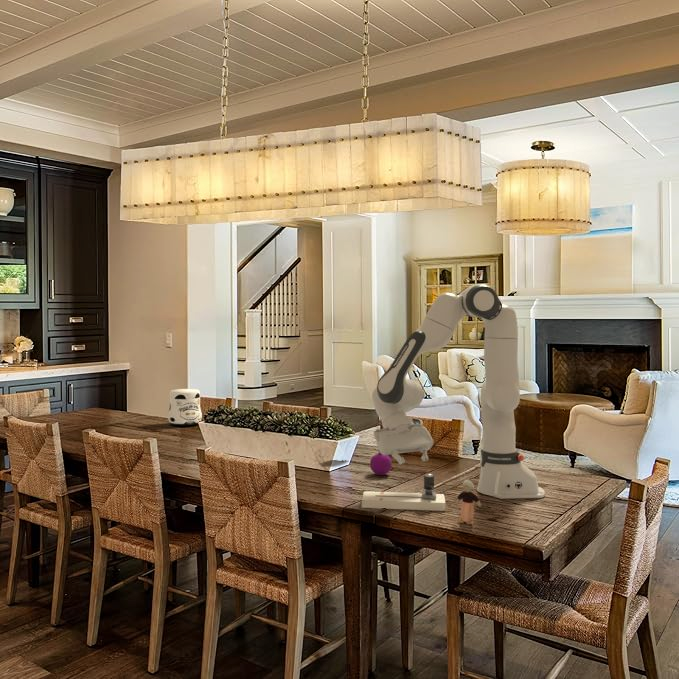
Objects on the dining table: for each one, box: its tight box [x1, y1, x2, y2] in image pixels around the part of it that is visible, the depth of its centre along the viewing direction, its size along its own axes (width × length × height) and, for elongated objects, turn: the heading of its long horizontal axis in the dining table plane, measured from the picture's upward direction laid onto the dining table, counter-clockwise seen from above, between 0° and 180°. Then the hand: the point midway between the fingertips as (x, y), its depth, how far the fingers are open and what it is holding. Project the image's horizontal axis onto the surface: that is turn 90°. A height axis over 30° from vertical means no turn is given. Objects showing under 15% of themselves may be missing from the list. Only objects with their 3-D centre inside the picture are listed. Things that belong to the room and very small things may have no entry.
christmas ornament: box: [369, 450, 393, 476], centre depth 259 cm, size 8×8×10 cm
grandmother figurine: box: [455, 479, 482, 525], centre depth 203 cm, size 8×4×13 cm, turn 69°
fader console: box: [361, 490, 446, 512], centre depth 221 cm, size 26×10×3 cm, turn 84°
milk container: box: [167, 388, 203, 427], centre depth 363 cm, size 17×17×18 cm
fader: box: [421, 473, 437, 499], centre depth 220 cm, size 4×4×7 cm
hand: (414, 461), depth 226 cm, fingers open, 8 cm apart
